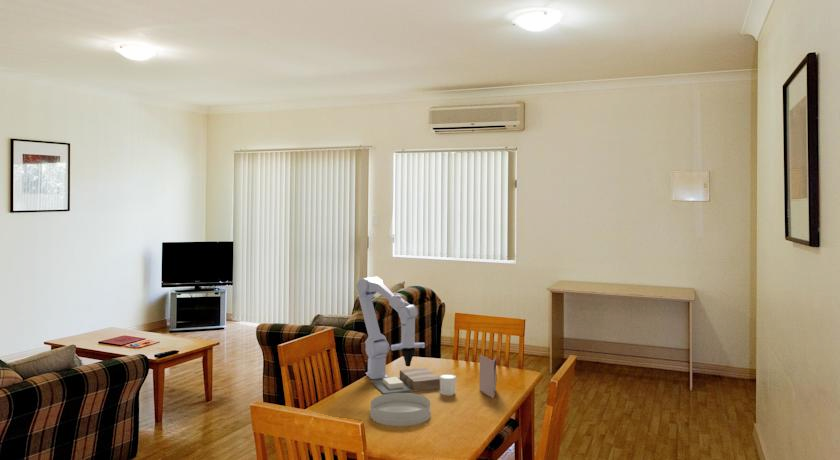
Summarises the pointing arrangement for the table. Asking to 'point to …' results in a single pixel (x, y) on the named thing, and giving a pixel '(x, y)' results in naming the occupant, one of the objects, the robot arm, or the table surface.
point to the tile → (393, 382)
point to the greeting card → (488, 376)
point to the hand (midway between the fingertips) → (407, 365)
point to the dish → (400, 409)
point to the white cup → (447, 384)
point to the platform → (420, 379)
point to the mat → (386, 390)
